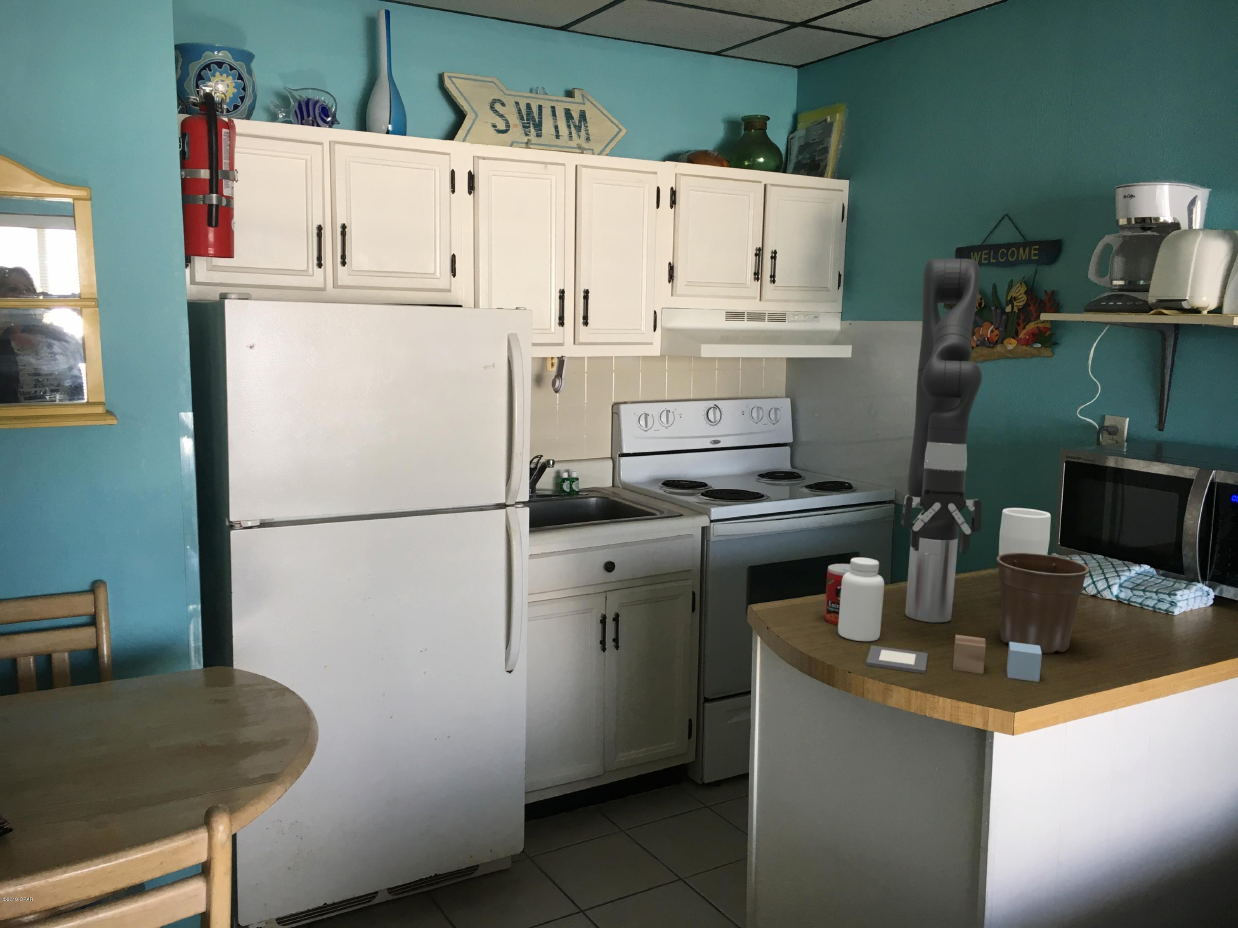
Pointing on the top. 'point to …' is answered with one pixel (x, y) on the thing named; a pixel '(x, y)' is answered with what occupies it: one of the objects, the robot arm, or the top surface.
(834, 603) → the canned food
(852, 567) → the pill bottle
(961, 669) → the walnut block
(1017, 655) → the blue block
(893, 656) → the mat
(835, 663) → the top surface
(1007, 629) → the plant pot
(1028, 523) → the cup
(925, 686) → the top surface
